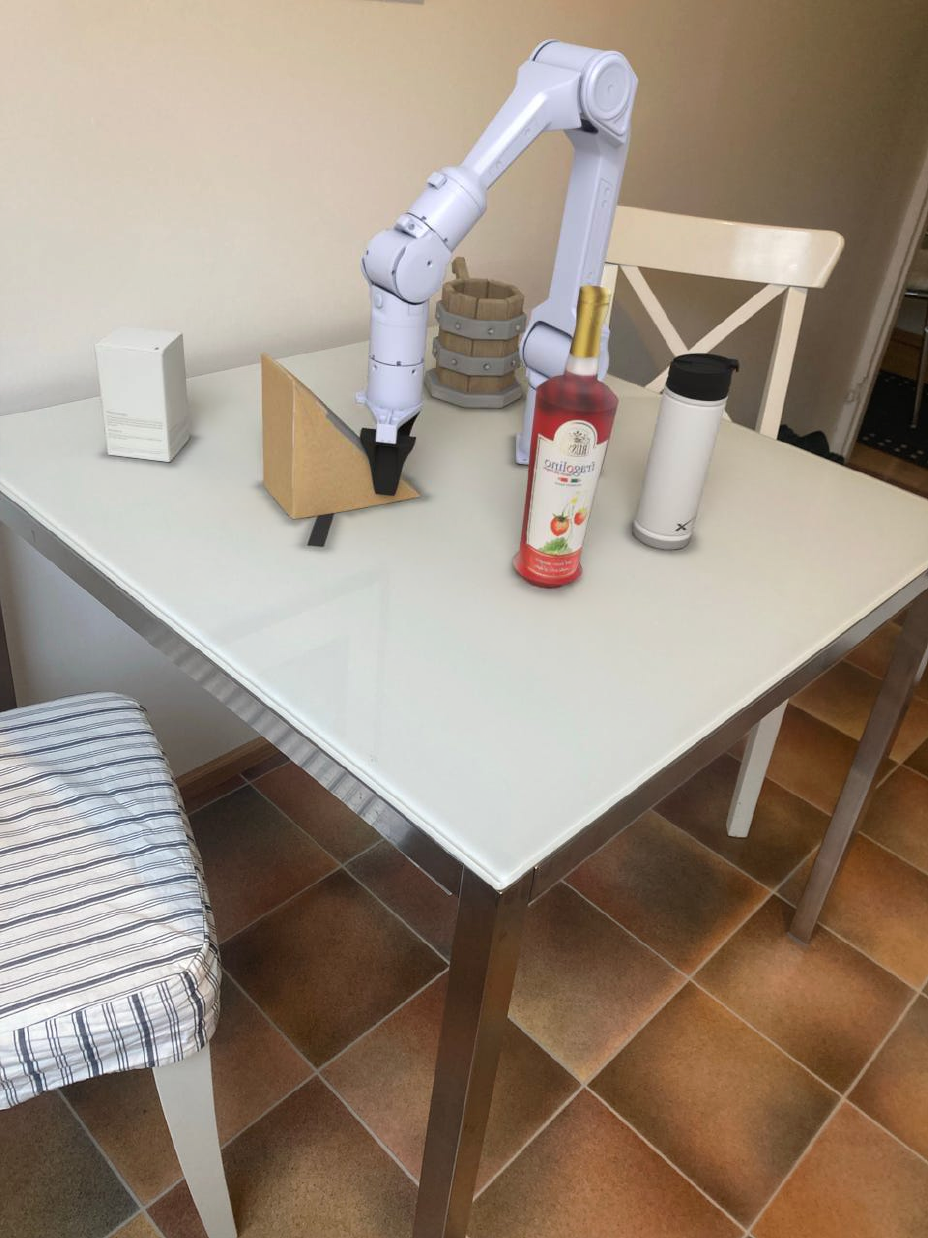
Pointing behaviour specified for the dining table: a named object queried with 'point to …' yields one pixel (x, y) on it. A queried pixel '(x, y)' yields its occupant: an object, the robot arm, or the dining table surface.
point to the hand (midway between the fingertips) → (389, 477)
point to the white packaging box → (143, 392)
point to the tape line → (320, 530)
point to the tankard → (477, 342)
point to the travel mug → (682, 448)
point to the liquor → (567, 453)
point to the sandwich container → (313, 452)
